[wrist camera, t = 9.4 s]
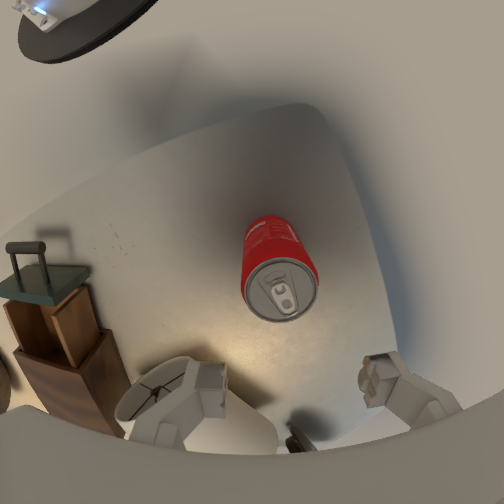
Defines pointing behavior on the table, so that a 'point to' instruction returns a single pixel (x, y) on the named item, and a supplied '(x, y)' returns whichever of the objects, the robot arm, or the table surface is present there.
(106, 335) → the cabinet
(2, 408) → the bowl
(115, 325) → the table surface
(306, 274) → the beverage can
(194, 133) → the table surface
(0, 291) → the drawer
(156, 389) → the light fixture
